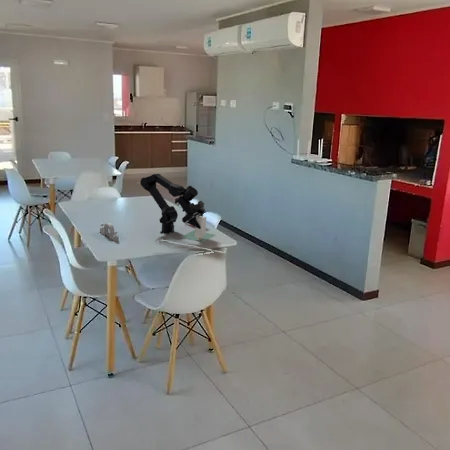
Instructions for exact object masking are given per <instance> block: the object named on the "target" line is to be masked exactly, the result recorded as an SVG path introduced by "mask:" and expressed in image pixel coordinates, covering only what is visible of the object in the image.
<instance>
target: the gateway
mask: <svg viewBox="0 0 450 450" xmlns="http://www.w3.org/2000/svg"><path fill="white" fill-rule="evenodd" d="M100 226H101V227H99V232H100V233H101V234H102V235H104V236H107V237H109V239H110V240H112V241H114V242H118V241H119V235H117V234H118V231H117V230H115V227H114V225H113V224H112V223H111V222H108V223H105V224H104V223H100Z"/></svg>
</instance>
